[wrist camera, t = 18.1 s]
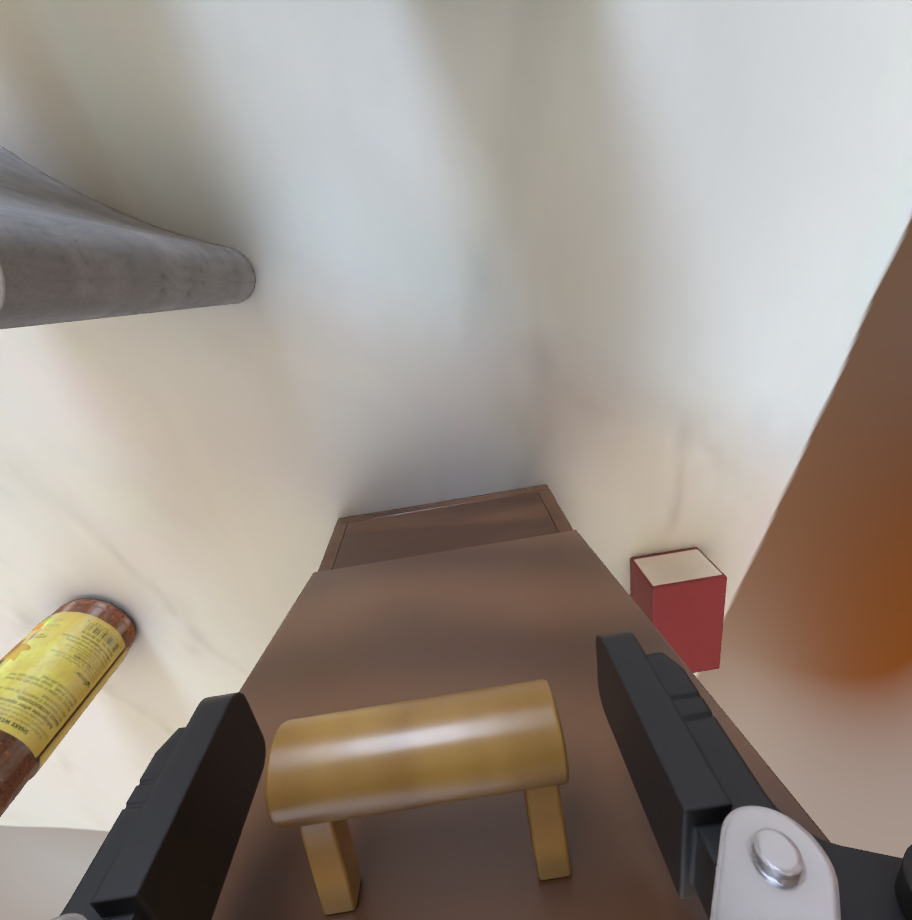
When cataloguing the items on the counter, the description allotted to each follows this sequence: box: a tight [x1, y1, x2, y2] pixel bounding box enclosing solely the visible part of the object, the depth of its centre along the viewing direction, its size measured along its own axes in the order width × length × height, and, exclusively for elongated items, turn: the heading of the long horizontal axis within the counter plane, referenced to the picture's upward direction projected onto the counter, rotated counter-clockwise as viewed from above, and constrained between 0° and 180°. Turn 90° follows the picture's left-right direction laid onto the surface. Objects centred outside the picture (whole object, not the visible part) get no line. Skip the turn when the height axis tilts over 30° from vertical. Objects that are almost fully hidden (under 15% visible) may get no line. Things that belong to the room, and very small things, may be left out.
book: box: [630, 548, 727, 673], centre depth 36 cm, size 9×6×4 cm, turn 9°
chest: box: [318, 485, 573, 572], centre depth 34 cm, size 19×16×7 cm
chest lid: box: [212, 530, 831, 920], centre depth 17 cm, size 20×16×5 cm
